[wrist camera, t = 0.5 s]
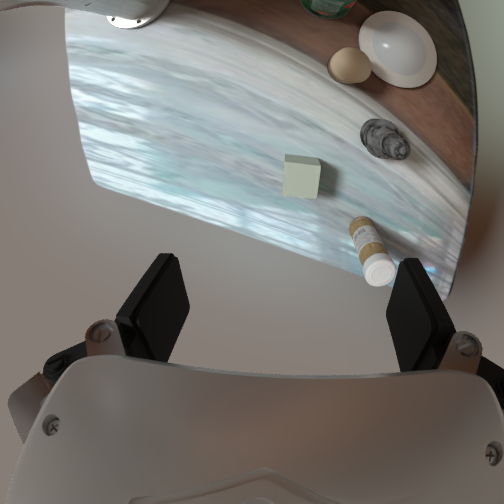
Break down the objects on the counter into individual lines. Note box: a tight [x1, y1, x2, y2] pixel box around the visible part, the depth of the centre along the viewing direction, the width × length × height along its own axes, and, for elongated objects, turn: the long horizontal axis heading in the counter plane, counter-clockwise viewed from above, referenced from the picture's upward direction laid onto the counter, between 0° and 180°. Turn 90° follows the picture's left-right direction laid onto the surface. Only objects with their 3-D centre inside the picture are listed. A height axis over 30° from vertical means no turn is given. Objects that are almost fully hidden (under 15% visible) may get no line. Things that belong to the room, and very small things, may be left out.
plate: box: [358, 11, 437, 88], centre depth 28 cm, size 13×13×1 cm
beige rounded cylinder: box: [327, 47, 372, 84], centre depth 29 cm, size 5×5×6 cm
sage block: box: [282, 154, 321, 199], centre depth 40 cm, size 5×5×5 cm
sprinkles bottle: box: [349, 217, 396, 286], centre depth 40 cm, size 5×5×14 cm
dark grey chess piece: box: [360, 119, 410, 160], centre depth 32 cm, size 6×6×12 cm
